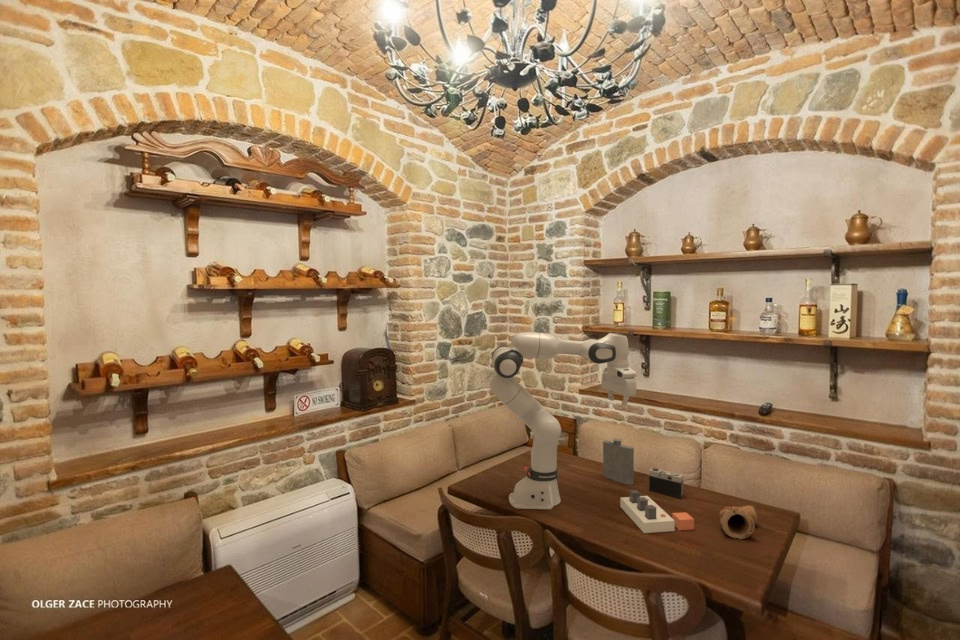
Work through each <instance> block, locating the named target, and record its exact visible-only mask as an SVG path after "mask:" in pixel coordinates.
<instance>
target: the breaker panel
mask: <svg viewBox="0 0 960 640" xmlns="http://www.w3.org/2000/svg"><path fill="white" fill-rule="evenodd" d="M640 497H645V498H646V499H647V500H648V505H653V506H654V507H655V508H656V519H650V520H648V519H647V518H646V517H645V511H639V510H638V508H637V503H632V502H631V501H630V496H624V497H622V496H621V497H620V500H619V501H620V504H619V505H620V506H619V507H620V508H621V509H622V511H623V512H624V513H625V514H626V515H627V516H628V517H629V518H630V519H631V520H632V521H633V523H634V524H635V525H636V526H637V527H638V528H639V530H640V531H641V532H642V533H644V534H651V533H653V534H654V533H666V532H667V533H668V532H669V533H670V532H675V528H676V526H675V521H674V520H673V519H672V516H670V515H669V514H668V513H667V512H666V511H665V510H664V509H662V507H660V506H659V505H658V504H657V503H656V502H655V501H654V500H652V499H653V498H651V497H649V495H640Z"/></svg>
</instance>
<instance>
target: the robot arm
mask: <svg viewBox="0 0 960 640" xmlns="http://www.w3.org/2000/svg"><path fill="white" fill-rule="evenodd" d="M629 353H630V351H629V340H628V337H627V335H625V334H623V333H619V332H609V333H608V334H607V335H605V336H604V337H602V338H599V339H597V338H595V337H589V338H586V339H585V338H584V339H582V340H573V339H562V338H558V337H556V336H555V335H552V334H548V333H545V332H544V333H543V332H535V331H532V332H531V331H527V332H525V331H523V332H522V331H521V332H517V333H515V334H514V335H513V336H512V337H511V341H510V345H509V346H507V345H500V346H498V347H496V348H495V349H494V350H493V352H492V354H491V363H492V366H493V369H494V371H495V374H494V375H493V376H492V378H491V379H490V382H489V388H490V390H491V392H492V393H493V394H494V395H495V397H496V398H497V399H498V401H500V402H501V403H502V404H503V405H504V406H505V407H506V408H507V409H508V410H509V411H510V412H511V413H512V414H514V415H515V417H517V418H518V419H519V420H520V421H521V422H522V423H524V424H525V426H527V427H528V429H530V430H531V431H532V433H533V442H532V447H531V450H530V467H528V466H524V467H523V470H524V472H525V473H526V476H525V477H523V478H522V479H521V480H519V481H518V482H517V483H516V484H515V485H514V489H513V492H510V493H509V495H508V502H509V504H510V505H511V507H513V508H514V509H517V510H518V509H520V510H521V509H522V510H552V509H553V508H555V506H557V505H559V504H560V503H561V501H562V499H561V496H560V492H559V487H558V481H559V470H558V467H557V466H558V465H557V464H558V462H557V461H558V459H557V455H558V454H557V453H558V445H559V440H560V438H561V435H562V427H561V423H560V422H559V420H558V419H557V418H556V417H555V416H553V414H551V413H550V412H549V410H547V408H545V407H544V406H543V405H542V404H541V403H540V402H539V401H538V400H537V399H536V398H535V397H534V396H533V395H532V394H531V393H530V392H529V391H528V390H527V389H525V387H523V385H521V383H519V382H518V381H517V380H516V378H515V376H516V375H517V374H518V373H519V371H520V369H521V366H522V365H523V362H524V359H528V358H529V359H535V360H536V359H538V360H549V359H551V360H552V359H553V358H554V357H556V356H557V355H571V356H572V355H573V356H579V357H581V358H583V359H585V360H587V361H589V362H592V363H594V364H597V365H599V364H600V365H602V364H606V367H605V368H604V369H603V372H602V373H601V374H602V375H601V388H602V389H605V390H606V394H607V396H608V400H609V401H614V400H615V396H614V394H613V393H617V394H620V395H622V397H623V400H621V405H623V406H628V401H629V399H630V397H634V396H635V395H636V394H637V379H636V377H637V371H635V370H633V369H632V368H631V367H630V366H629V365H630V363H629V358H628V357H629Z"/></svg>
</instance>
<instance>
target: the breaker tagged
mask: <svg viewBox="0 0 960 640" xmlns="http://www.w3.org/2000/svg"><path fill="white" fill-rule="evenodd" d="M645 517H646V518H647V519H648V520H650V519H656V508H655V507H654V506H653V505H645Z"/></svg>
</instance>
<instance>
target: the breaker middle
mask: <svg viewBox="0 0 960 640" xmlns="http://www.w3.org/2000/svg"><path fill="white" fill-rule="evenodd" d="M645 505H648V500H647V499H646V498H645V497H638V498H637V508H638V510H639V511H645Z"/></svg>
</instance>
